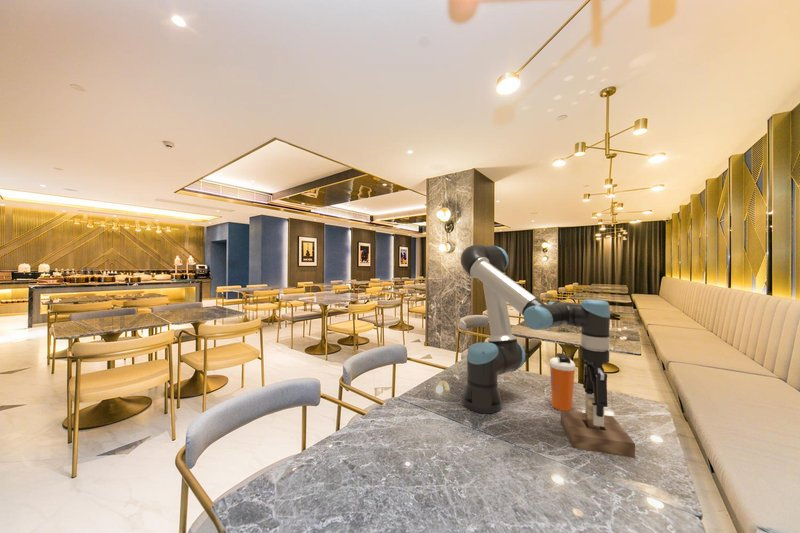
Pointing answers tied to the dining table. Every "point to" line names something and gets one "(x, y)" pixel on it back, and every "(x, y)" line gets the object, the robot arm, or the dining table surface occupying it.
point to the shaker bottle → (562, 382)
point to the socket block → (597, 434)
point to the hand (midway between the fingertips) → (594, 419)
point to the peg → (591, 415)
